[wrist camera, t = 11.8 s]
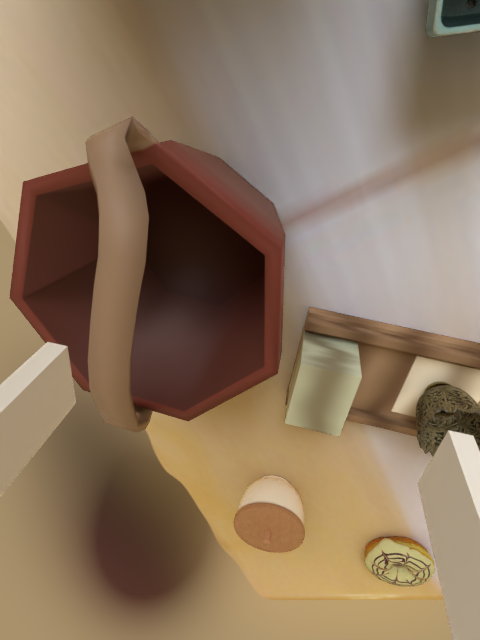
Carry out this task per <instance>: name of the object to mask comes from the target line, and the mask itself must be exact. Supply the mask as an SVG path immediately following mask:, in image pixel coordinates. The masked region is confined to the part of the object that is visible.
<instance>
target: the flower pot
mask: <svg viewBox="0 0 480 640" xmlns="http://www.w3.org/2000/svg"><path fill="white" fill-rule="evenodd" d="M469 1H470V0H429V6H428V14H427V22H426V34H427V35H428V36H430V37H440V36H446V35H454V34H462V33H470V32H479V31H480V0H473V1H474V6H473V7H472V8H468V7H467V4H468V2H469Z"/></svg>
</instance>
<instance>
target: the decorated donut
mask: <svg viewBox="0 0 480 640" xmlns="http://www.w3.org/2000/svg"><path fill="white" fill-rule="evenodd" d="M365 557H366V559H365V564H366V566H367V568H368V569H369V570H370V571H371V572H372V573H373V574H374V575H375V576H376V577H377V578H378V579H380V580H383V581H385V582H387V583H390V584H393V585H398V586H417V585H421V584H424V583H425V582H427V581H429V580H430V578H431V577H432V575H433V574H434V572H435V568H434V561H433V559H432V558H431V556H430V554H429V553H428V551H427V550H426V549H425V548H424V547H423V546H422V545H420V544H419V543H417V542H416V541H413V540H412V539H409V538H406V537H386V538H384V537H379V538H378V539H375V540H373V541H372V542H371V543H369V544H368V545H367V546H366V551H365Z"/></svg>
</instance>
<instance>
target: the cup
mask: <svg viewBox="0 0 480 640" xmlns="http://www.w3.org/2000/svg"><path fill="white" fill-rule="evenodd" d="M416 426H417V435H418V436H417V438H418V440H419V445H420V448H422V449H423V450H424V452H425V453H428V452H429V451H430V453H431V455H432V456H434V454H435V453H436V451H437V449H438V447H439V446H440V444H441V442H442V440H443V439H444V437H445V435H446V434H447V432H448V430H450V431H454V432H459V433H464V434H468V435H473V436H474V439H475V441H476V443H477V446H478V448H479V451H480V406H479V405H478V404H477V402H476V401H475V400H474V399H473V398H472V397H471V396H470V395H469V394H468V393H467V392H465V391H463V390H462V389H460V388H457V387H454V386H452V385H450V384H448V383H446V382H442V381H438V382H433V383H431V384H429V385H428V386H427V387H426V388H425V390H424V393H423V394H422V395H421V397H420V398H419V400H418V402H417V405H416Z"/></svg>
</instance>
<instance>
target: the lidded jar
mask: <svg viewBox="0 0 480 640" xmlns="http://www.w3.org/2000/svg"><path fill="white" fill-rule="evenodd" d="M234 528H235V530H236V533H237V534H238V536H239V537H240V538H241V539H242V540H243V541H245V542H246V543H248V544H249V545H251V546H253V547H255V548H257V549H260V550H263V551H268V552H288V551H291V550H294V549H296V548H297V547H299V546H300V545H301V544H302V542H303V540H304V536H305V530H304V509H303V504H302V501H301V498H300V496H299V494H298V493H297V491H296V490H295V489H294V488H293V487H292V485H291V484H290V483H289V482H288V481H287V480H286V479H284V478H282V477H279V476H275V475H267V476H263V477H261V478H260V479H259V480H256V481H255V482H253V483H252V484H251V485H250V486H249V487H248V488H247V489H246V490H245V492H244V493H243V495H242V497H241V500H240V503H239V506H238V509H237V513H236V516H235V519H234Z"/></svg>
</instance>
